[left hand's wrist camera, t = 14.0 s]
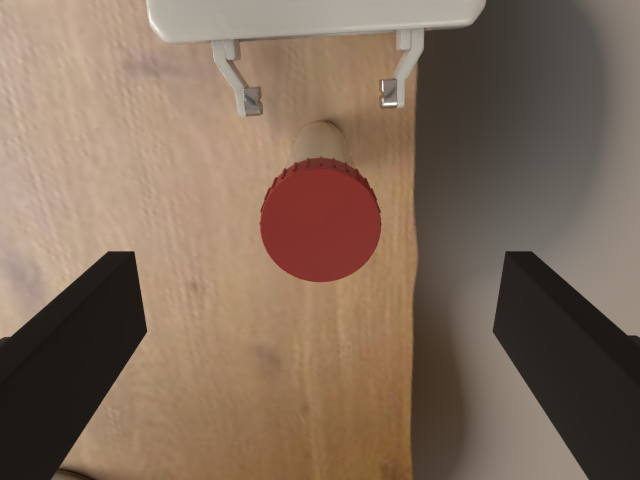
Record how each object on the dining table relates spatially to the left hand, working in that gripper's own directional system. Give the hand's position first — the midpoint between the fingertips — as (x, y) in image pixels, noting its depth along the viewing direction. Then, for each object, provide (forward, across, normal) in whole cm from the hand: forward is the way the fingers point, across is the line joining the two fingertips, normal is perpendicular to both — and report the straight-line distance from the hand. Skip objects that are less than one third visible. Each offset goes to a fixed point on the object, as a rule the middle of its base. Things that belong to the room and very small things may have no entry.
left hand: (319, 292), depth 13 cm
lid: (+6, 0, 0) cm, 6 cm away
